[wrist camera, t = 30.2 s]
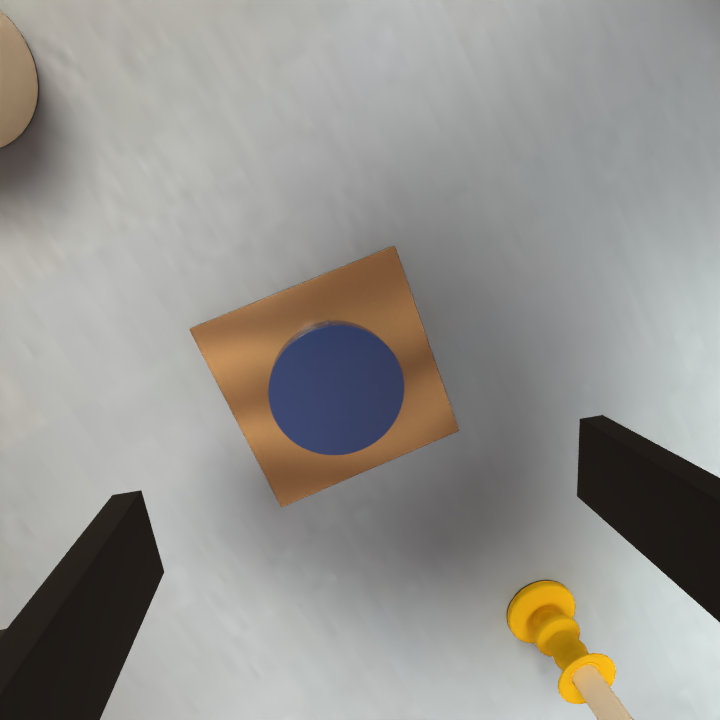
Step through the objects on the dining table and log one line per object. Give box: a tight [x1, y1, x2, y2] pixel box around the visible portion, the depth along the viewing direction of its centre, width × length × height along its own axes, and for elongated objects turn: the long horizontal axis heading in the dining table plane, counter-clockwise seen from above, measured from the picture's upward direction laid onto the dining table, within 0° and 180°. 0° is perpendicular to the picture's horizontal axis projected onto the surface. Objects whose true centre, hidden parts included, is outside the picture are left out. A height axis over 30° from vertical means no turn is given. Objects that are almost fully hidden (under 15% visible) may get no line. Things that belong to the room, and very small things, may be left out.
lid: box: [268, 320, 404, 455], centre depth 23 cm, size 7×7×2 cm
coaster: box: [190, 246, 459, 507], centre depth 24 cm, size 12×12×1 cm
